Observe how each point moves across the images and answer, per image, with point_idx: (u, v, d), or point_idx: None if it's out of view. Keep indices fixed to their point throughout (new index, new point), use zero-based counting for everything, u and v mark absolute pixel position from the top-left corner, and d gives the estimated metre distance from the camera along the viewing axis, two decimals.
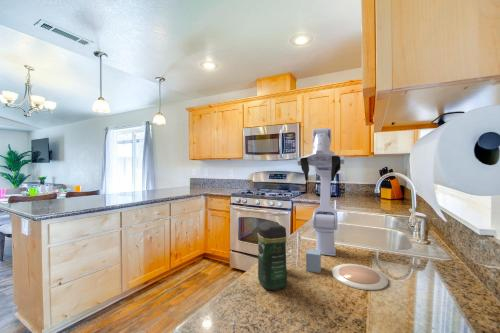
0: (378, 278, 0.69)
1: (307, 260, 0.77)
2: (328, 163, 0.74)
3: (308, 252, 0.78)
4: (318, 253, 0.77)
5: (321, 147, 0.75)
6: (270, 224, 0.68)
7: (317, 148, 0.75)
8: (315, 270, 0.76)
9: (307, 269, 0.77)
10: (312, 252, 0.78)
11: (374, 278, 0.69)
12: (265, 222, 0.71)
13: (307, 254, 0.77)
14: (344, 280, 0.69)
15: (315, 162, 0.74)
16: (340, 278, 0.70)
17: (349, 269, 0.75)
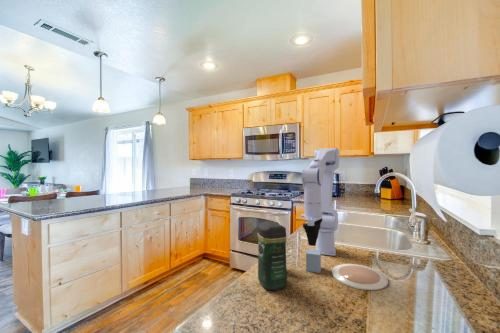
0: (378, 278, 0.69)
1: (307, 260, 0.77)
2: None
3: (308, 252, 0.78)
4: (318, 253, 0.77)
5: (304, 207, 0.79)
6: (270, 224, 0.68)
7: None
8: (315, 270, 0.76)
9: (307, 269, 0.77)
10: (312, 252, 0.78)
11: (374, 278, 0.69)
12: (265, 222, 0.71)
13: (307, 254, 0.77)
14: (344, 280, 0.69)
15: None
16: (340, 278, 0.70)
17: (349, 269, 0.75)
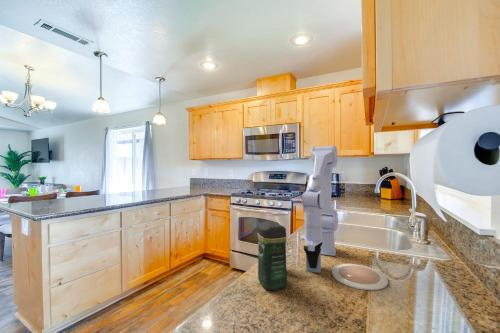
0: (378, 278, 0.69)
1: (307, 260, 0.77)
2: None
3: None
4: None
5: None
6: (270, 224, 0.68)
7: None
8: (315, 270, 0.76)
9: (307, 269, 0.77)
10: None
11: (374, 278, 0.69)
12: (265, 222, 0.71)
13: None
14: (344, 280, 0.69)
15: None
16: (340, 278, 0.70)
17: (349, 269, 0.75)
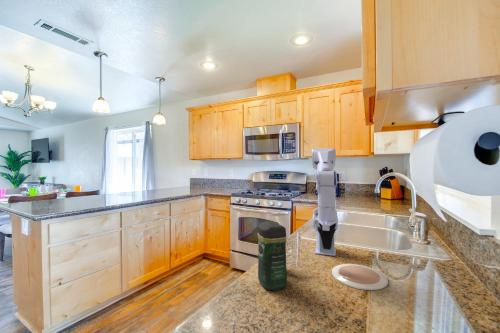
0: (378, 278, 0.69)
1: (321, 241, 0.75)
2: None
3: None
4: None
5: (318, 211, 0.77)
6: (270, 224, 0.68)
7: None
8: (329, 251, 0.74)
9: (321, 250, 0.75)
10: None
11: (374, 278, 0.69)
12: (265, 222, 0.71)
13: None
14: (344, 280, 0.69)
15: None
16: (340, 278, 0.70)
17: (349, 269, 0.75)
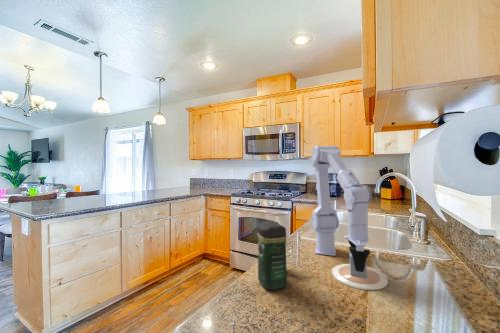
0: (378, 278, 0.69)
1: (352, 264, 0.71)
2: None
3: None
4: None
5: (348, 229, 0.73)
6: (270, 224, 0.68)
7: None
8: (361, 275, 0.70)
9: (352, 273, 0.71)
10: None
11: (374, 278, 0.69)
12: (265, 222, 0.71)
13: (352, 257, 0.71)
14: (344, 280, 0.69)
15: None
16: (340, 278, 0.70)
17: (349, 269, 0.75)
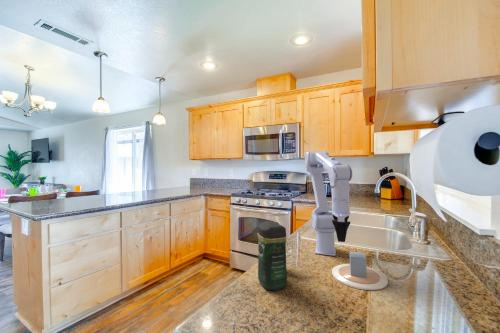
0: (378, 278, 0.69)
1: (352, 264, 0.71)
2: None
3: (352, 255, 0.72)
4: (364, 256, 0.71)
5: (332, 204, 0.79)
6: (270, 224, 0.68)
7: None
8: (361, 275, 0.70)
9: (352, 273, 0.71)
10: (356, 255, 0.72)
11: (374, 278, 0.69)
12: (265, 222, 0.71)
13: (352, 257, 0.71)
14: (344, 280, 0.69)
15: None
16: (340, 278, 0.70)
17: (349, 269, 0.75)
